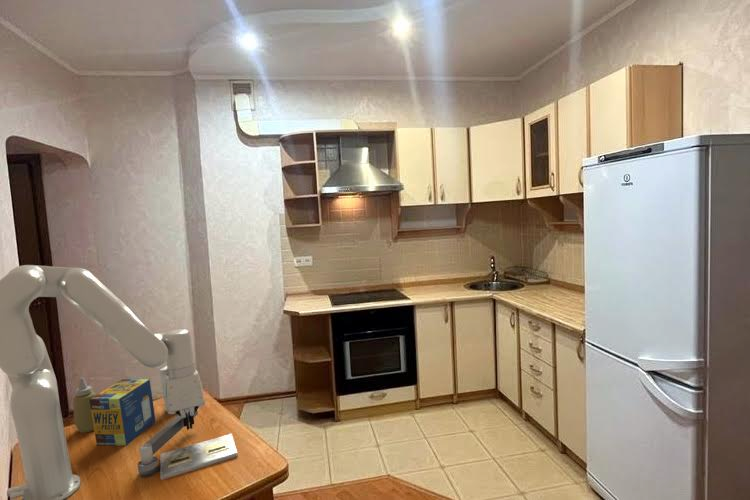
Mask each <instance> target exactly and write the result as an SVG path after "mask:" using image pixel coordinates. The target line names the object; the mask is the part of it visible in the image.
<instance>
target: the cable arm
mask: <svg viewBox="0 0 750 500" xmlns="http://www.w3.org/2000/svg"><path fill="white" fill-rule="evenodd" d="M189 411H190V408H188V409H185V412H186V413H187V414H189ZM198 413H199V411H198V409H197V410H196V412H195V413H194V415H193V417H194V418H195V417H196V416H198ZM188 420H189V418H188ZM183 428H185V427H184V422H183V418H182V417H181V416H179V415H177V416H176V417H174V418H173V419H172V420H171V421H170V422H169V423H168V424H166V425H165V426H164V427H163V428H161V429H160V430H158V432H156V433H155V434H154V436H152V437H151V438H150V439H149V440H148V441H146V442H145V443H144V444H143V445H141V446H139V448H138V450H139V455H140V456H139V457H140V461H141V463H142V464H143V465H145V464H149V463H151V462H152V461H153V460H154V459H153V457H154V455H155V454H156V453H157V452H158V451H159V450H160V449H161V448H162V447H164V446H165V445H166V444H167V443H168V442H169V441H170V440H171V439H172V438H174V437H175V436H176V435H177V434H178V432H180V431H181V430H182V429H183Z"/></svg>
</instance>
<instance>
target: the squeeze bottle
mask: <svg viewBox="0 0 750 500" xmlns="http://www.w3.org/2000/svg"><path fill="white" fill-rule="evenodd" d="M74 392H75V396H74V397H73V401H72V404H73V422H74V425H75V427H76V428H77V430H78V432H79V433H82V434H87V433H91V432H93V431H94V425H93V419H92V413H91V407H90V401H89V399H91V398H92V397H94V396H96V395H97V393H96V392H95V391H93V388H92V386H90V385H88V384H87V382H86V380H85V377H80V378H79V380H78V388H76V390H75V391H74Z"/></svg>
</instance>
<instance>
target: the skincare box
mask: <svg viewBox="0 0 750 500" xmlns="http://www.w3.org/2000/svg"><path fill="white" fill-rule="evenodd" d="M166 369H167V365H166V366H164V367H162V368H161V369H159V370H158V371H159V375H160V382H161V383H160V384H161V389H162V395H163V397H162V398H163V403H164V411H165V412H168V405H167V397H166V379H167V377H168V376H167V375H163V372H162V371H164V370H166Z"/></svg>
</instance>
